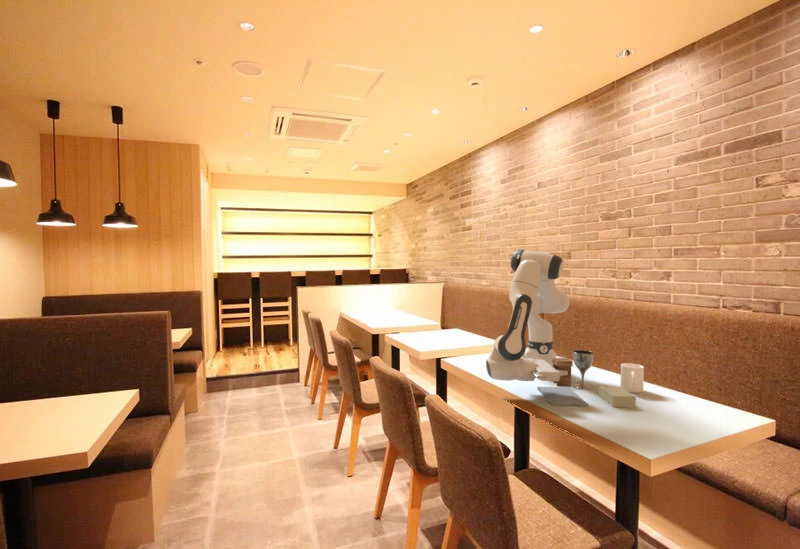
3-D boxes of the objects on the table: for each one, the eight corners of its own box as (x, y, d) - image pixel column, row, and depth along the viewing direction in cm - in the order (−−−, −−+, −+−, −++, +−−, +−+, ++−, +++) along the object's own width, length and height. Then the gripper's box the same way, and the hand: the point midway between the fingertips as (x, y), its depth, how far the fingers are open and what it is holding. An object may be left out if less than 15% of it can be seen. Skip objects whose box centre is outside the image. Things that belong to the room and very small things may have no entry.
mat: (537, 388, 169) (537, 386, 169) (569, 389, 169) (569, 387, 169) (552, 405, 149) (552, 403, 149) (588, 406, 149) (588, 404, 149)
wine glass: (569, 386, 172) (569, 351, 172) (576, 382, 178) (577, 348, 177) (588, 390, 167) (589, 354, 166) (595, 386, 172) (596, 351, 172)
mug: (645, 397, 159) (646, 371, 159) (621, 394, 162) (622, 368, 162) (642, 388, 170) (642, 364, 169) (619, 386, 173) (620, 362, 173)
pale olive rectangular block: (598, 396, 160) (599, 386, 160) (619, 396, 160) (619, 386, 159) (612, 406, 148) (613, 396, 148) (635, 407, 148) (635, 396, 147)
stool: (559, 388, 162) (540, 369, 162) (579, 369, 161) (560, 350, 161) (564, 393, 156) (544, 372, 156) (585, 373, 155) (564, 353, 156)
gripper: (535, 368, 149) (573, 369, 148) (522, 355, 169) (555, 356, 169) (535, 385, 149) (573, 386, 148) (521, 370, 169) (555, 371, 169)
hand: (563, 370), depth 159 cm, fingers closed on stool, 5 cm apart
